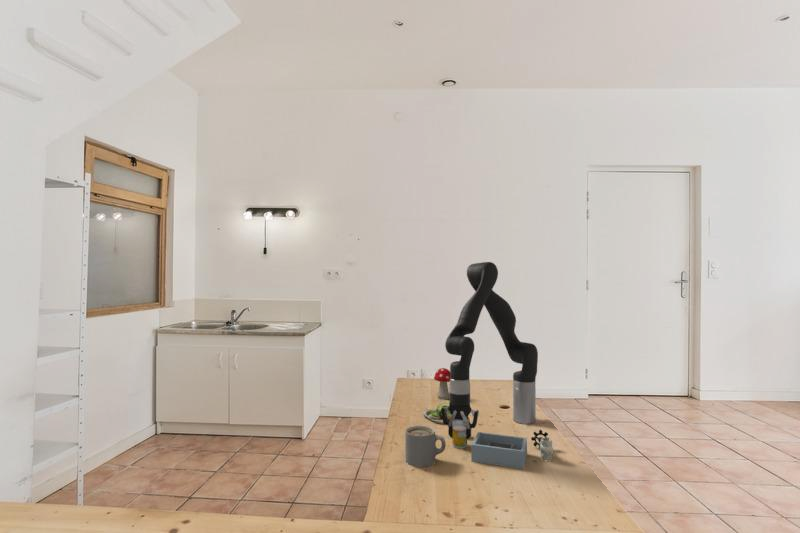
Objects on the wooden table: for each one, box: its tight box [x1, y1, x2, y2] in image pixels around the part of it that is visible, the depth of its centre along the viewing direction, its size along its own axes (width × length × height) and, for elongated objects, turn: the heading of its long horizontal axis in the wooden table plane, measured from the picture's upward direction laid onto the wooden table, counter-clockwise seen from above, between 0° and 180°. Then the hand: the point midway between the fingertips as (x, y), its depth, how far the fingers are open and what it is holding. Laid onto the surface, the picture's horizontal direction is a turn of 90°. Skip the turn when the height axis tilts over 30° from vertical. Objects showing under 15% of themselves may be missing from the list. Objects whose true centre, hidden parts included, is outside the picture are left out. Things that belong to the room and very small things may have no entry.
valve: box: [530, 429, 554, 462], centre depth 155 cm, size 7×7×12 cm
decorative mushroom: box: [433, 367, 450, 400], centre depth 225 cm, size 10×9×15 cm
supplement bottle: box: [451, 419, 468, 449], centre depth 162 cm, size 5×5×10 cm
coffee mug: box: [404, 425, 447, 468], centre depth 149 cm, size 13×10×10 cm
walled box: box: [470, 431, 528, 470], centre depth 152 cm, size 13×17×6 cm
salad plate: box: [423, 402, 452, 425], centre depth 193 cm, size 19×18×5 cm
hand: (459, 437), depth 162 cm, fingers closed on supplement bottle, 5 cm apart
